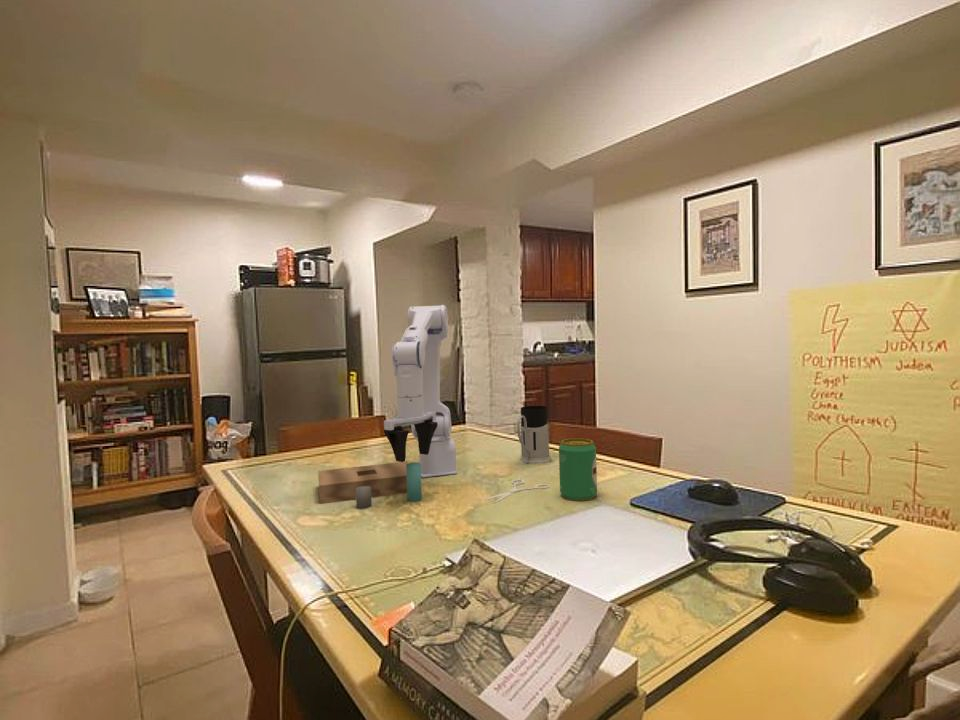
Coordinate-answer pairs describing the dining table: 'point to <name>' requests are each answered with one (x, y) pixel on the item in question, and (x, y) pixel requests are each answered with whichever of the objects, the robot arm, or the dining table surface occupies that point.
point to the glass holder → (534, 434)
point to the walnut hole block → (362, 481)
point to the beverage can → (578, 469)
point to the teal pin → (414, 482)
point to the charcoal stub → (363, 497)
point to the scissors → (516, 489)
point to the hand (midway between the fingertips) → (412, 457)
